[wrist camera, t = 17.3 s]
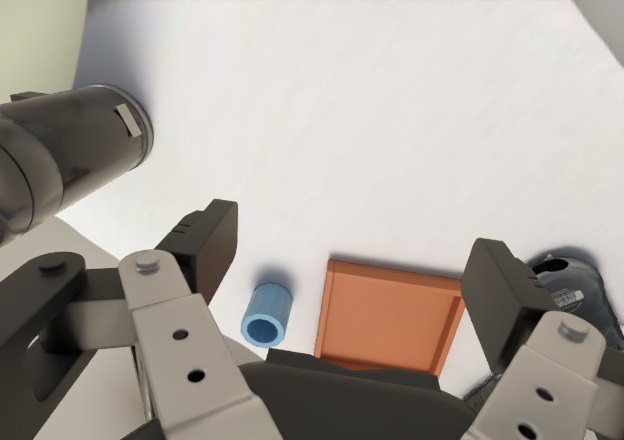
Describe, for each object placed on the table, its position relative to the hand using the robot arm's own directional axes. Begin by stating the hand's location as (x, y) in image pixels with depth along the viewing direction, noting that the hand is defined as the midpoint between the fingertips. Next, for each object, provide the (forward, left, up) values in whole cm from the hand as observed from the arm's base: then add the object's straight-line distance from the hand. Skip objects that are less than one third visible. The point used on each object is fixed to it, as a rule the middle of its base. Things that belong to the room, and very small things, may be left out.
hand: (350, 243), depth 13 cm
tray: (+8, -27, -28) cm, 40 cm away
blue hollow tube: (-7, -26, -28) cm, 39 cm away
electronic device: (+28, -20, -28) cm, 45 cm away
